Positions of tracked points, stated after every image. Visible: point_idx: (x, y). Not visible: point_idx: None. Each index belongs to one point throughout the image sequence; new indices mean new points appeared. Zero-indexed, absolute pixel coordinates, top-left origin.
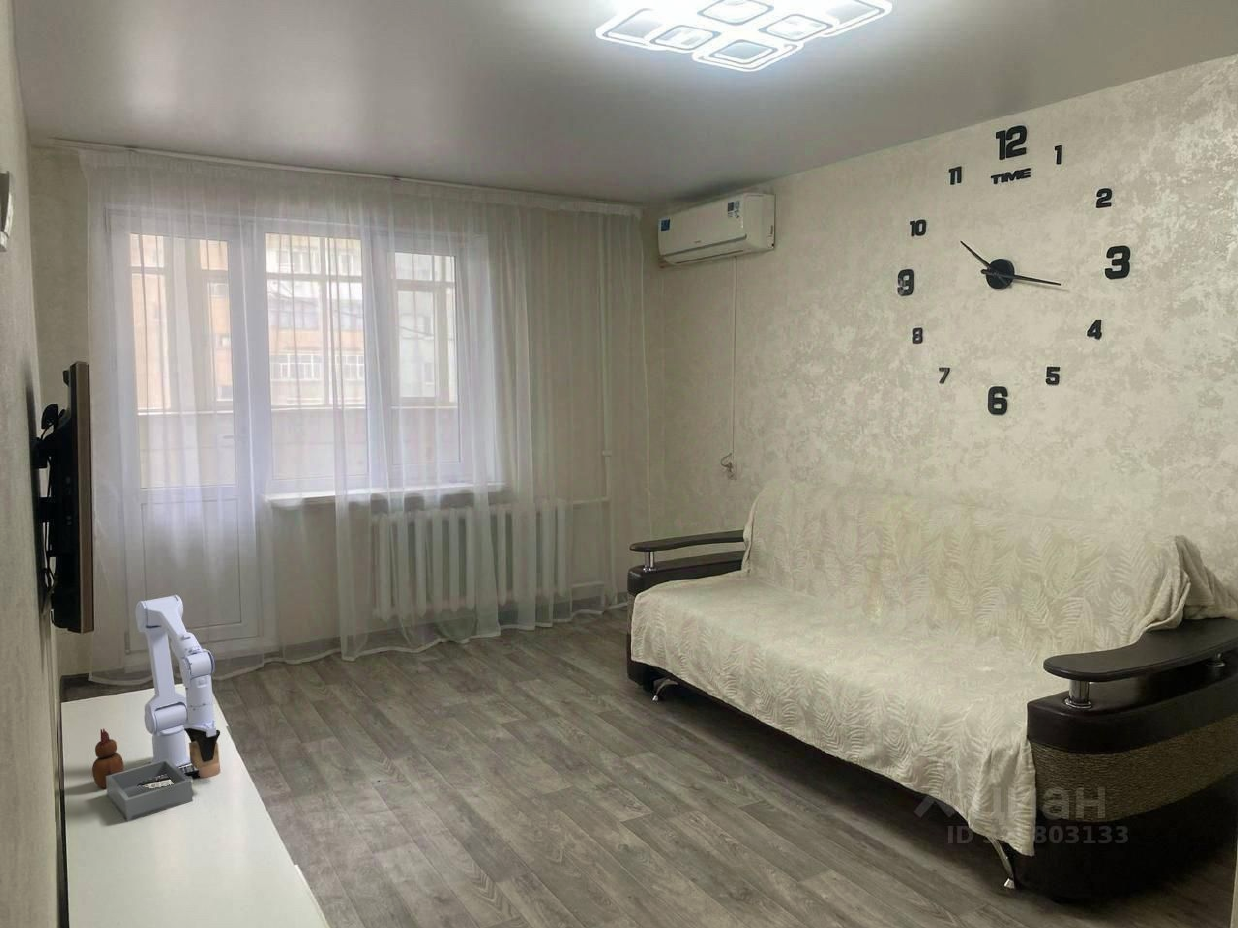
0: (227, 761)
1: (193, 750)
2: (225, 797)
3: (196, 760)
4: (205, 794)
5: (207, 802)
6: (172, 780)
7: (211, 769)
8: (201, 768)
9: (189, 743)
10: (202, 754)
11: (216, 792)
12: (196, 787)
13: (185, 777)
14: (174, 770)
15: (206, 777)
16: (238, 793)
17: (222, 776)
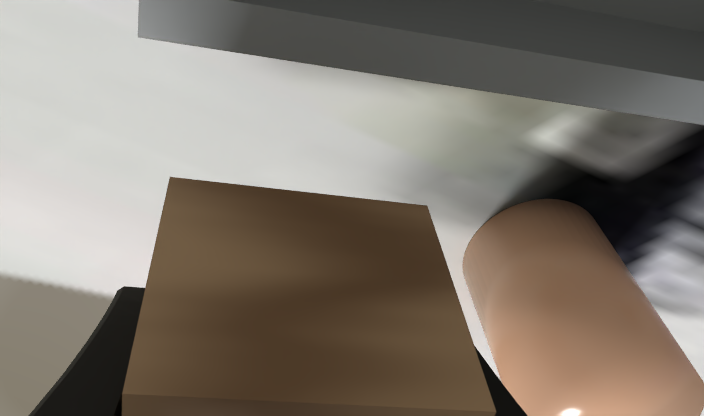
0: None
1: (267, 346)
2: (15, 152)
3: (158, 247)
4: (208, 88)
5: (25, 24)
6: (631, 24)
7: (482, 280)
8: (545, 247)
9: (469, 409)
10: (73, 360)
11: (172, 153)
12: (403, 107)
13: (285, 39)
14: (597, 61)
15: (491, 219)
16: (17, 232)
17: None
